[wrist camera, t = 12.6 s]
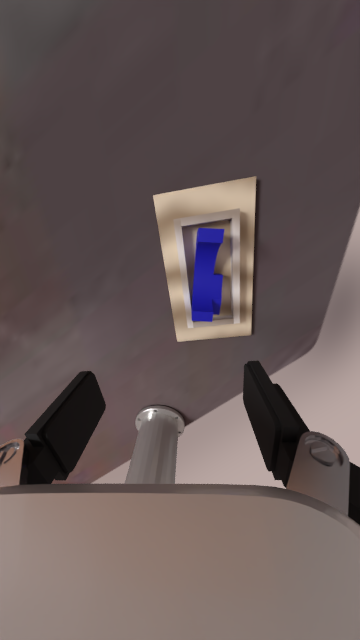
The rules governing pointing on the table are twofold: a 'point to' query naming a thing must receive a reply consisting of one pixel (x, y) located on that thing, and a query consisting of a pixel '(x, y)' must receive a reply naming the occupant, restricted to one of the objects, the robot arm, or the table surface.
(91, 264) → the table surface
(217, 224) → the clip cradle
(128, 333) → the table surface
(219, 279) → the blue curved piece
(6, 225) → the table surface
